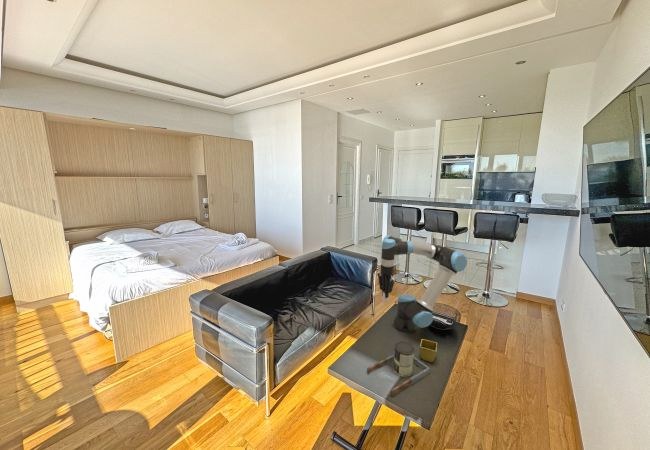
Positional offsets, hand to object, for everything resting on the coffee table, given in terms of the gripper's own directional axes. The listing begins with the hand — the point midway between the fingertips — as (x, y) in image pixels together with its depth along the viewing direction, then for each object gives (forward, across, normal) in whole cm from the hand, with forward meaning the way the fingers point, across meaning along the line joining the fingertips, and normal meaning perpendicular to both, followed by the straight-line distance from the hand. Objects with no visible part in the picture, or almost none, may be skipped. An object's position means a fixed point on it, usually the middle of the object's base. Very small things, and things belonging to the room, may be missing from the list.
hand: (384, 301), depth 157 cm
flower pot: (+30, +23, +14) cm, 40 cm away
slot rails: (+29, +22, -17) cm, 40 cm away
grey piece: (+29, +22, -3) cm, 37 cm away
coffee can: (+30, +22, -6) cm, 37 cm away
